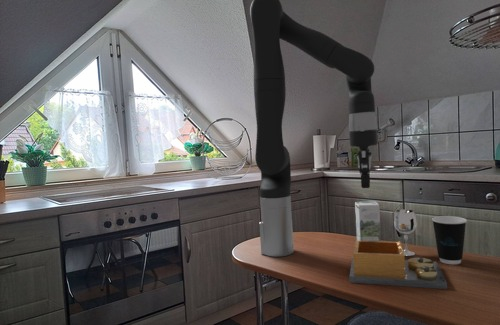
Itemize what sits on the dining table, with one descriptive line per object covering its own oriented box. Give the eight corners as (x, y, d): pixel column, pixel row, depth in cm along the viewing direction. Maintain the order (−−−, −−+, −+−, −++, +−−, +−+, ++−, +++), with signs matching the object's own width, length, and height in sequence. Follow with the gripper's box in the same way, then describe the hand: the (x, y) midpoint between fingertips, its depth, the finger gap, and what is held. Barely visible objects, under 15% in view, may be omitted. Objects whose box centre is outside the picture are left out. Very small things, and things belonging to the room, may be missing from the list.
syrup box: (376, 248, 105) (374, 200, 105) (381, 254, 100) (379, 203, 99) (356, 249, 106) (354, 201, 105) (360, 255, 100) (358, 204, 99)
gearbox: (349, 282, 82) (348, 254, 82) (352, 263, 94) (351, 239, 94) (447, 289, 75) (446, 259, 75) (436, 267, 88) (435, 241, 87)
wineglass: (416, 257, 96) (414, 213, 95) (393, 255, 99) (391, 212, 98) (418, 251, 100) (417, 209, 100) (397, 249, 103) (395, 208, 103)
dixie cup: (444, 267, 87) (442, 223, 87) (426, 257, 95) (425, 216, 95) (475, 265, 88) (474, 221, 87) (455, 255, 96) (454, 214, 95)
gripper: (350, 130, 109) (353, 183, 110) (347, 130, 95) (351, 189, 96) (376, 128, 106) (379, 182, 107) (377, 127, 93) (380, 189, 94)
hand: (365, 185), depth 102 cm, fingers open, 8 cm apart
